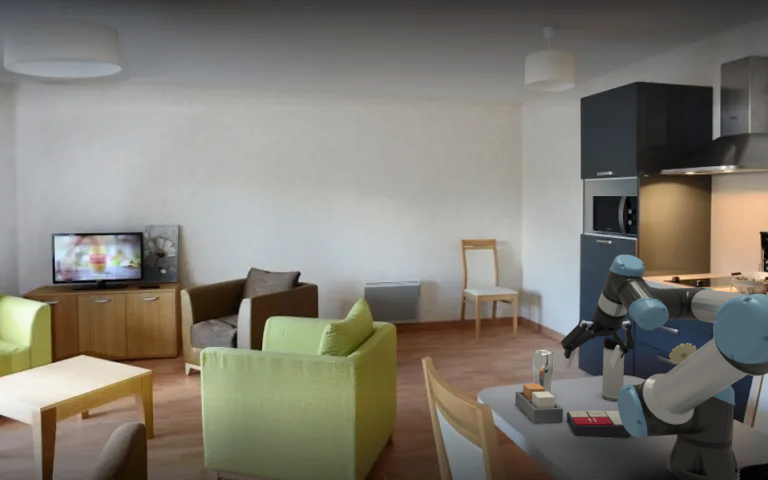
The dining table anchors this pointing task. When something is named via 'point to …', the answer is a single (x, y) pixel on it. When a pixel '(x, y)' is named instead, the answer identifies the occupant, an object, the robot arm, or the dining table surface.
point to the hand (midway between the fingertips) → (589, 365)
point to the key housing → (538, 411)
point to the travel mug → (611, 372)
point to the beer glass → (543, 368)
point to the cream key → (543, 400)
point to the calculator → (597, 423)
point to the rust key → (531, 390)
